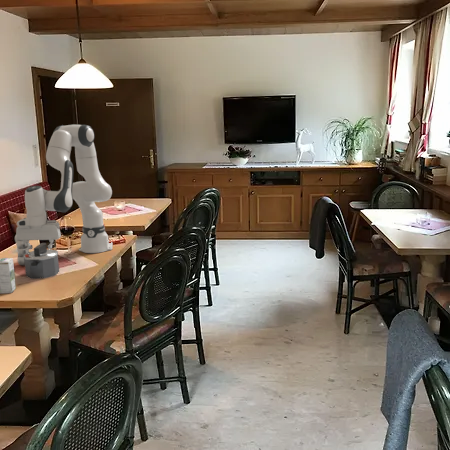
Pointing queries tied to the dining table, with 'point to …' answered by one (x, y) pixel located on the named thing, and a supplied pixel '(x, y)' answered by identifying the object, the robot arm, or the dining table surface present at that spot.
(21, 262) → the plastic bottle
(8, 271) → the syrup box
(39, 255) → the lid
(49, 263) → the pot
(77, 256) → the dining table surface
